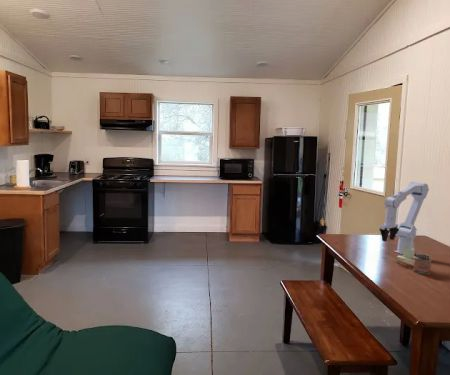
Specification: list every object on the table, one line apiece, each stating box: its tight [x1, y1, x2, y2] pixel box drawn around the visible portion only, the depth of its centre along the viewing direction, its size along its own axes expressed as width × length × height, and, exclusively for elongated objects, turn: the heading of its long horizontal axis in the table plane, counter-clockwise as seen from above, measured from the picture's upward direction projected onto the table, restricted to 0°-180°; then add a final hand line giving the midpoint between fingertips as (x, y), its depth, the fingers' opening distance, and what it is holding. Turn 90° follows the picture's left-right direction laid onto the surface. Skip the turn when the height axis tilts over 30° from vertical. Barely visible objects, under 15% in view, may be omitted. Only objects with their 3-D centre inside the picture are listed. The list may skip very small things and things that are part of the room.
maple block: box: [395, 254, 416, 267], centre depth 220 cm, size 10×10×3 cm
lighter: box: [412, 252, 433, 275], centre depth 201 cm, size 8×3×10 cm, turn 71°
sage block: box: [402, 247, 416, 259], centre depth 220 cm, size 4×4×5 cm
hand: (388, 240), depth 228 cm, fingers open, 7 cm apart
